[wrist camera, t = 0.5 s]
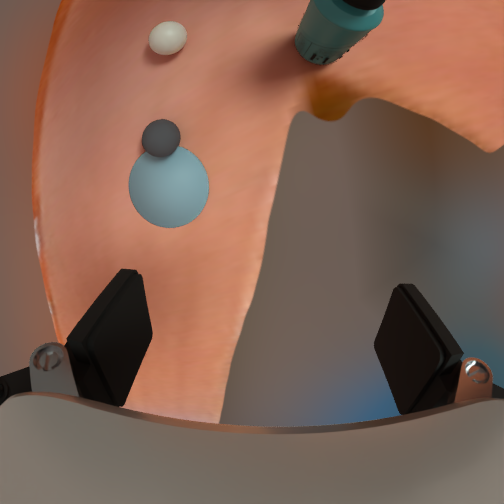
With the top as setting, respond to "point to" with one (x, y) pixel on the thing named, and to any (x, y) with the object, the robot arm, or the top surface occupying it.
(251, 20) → the top surface
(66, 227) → the top surface
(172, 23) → the cue ball
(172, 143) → the object ball
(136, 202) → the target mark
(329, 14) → the beverage bottle
